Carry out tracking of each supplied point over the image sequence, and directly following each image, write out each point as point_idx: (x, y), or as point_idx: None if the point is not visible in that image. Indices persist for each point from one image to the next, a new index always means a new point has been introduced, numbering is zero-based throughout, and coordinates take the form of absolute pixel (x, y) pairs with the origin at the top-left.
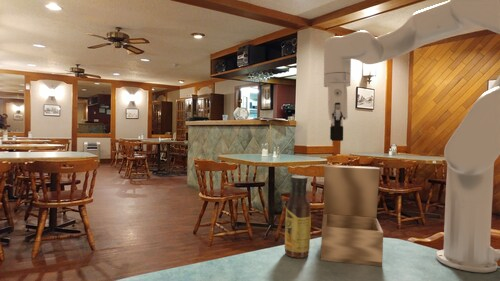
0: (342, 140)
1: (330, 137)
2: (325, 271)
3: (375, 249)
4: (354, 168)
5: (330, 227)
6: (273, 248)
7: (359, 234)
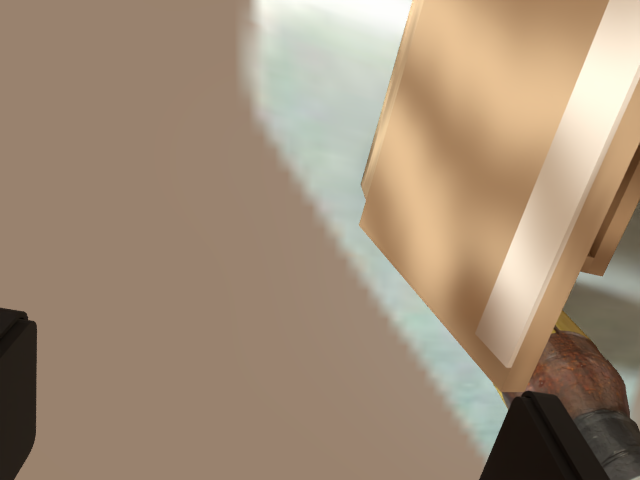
0: (549, 395)
1: (13, 466)
2: (636, 230)
3: None
4: (617, 180)
5: (608, 243)
6: (428, 356)
7: None
